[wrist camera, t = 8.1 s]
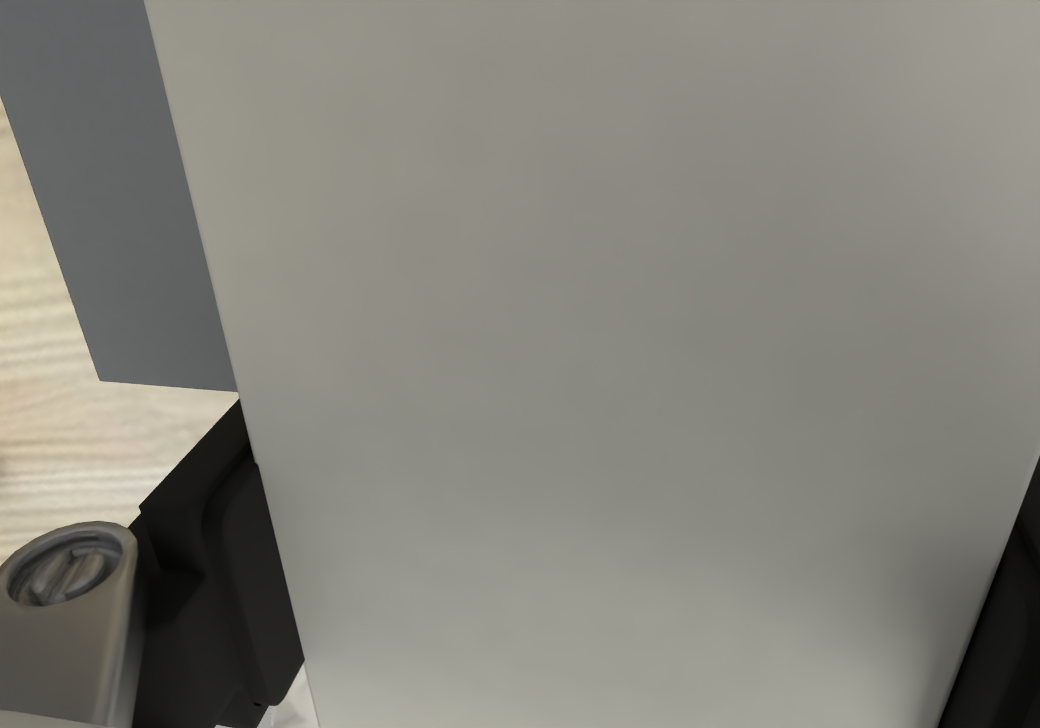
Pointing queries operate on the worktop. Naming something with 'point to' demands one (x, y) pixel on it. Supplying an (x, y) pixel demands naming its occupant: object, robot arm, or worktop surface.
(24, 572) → the robot arm
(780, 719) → the white box
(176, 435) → the worktop surface
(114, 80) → the grey stack
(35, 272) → the worktop surface
